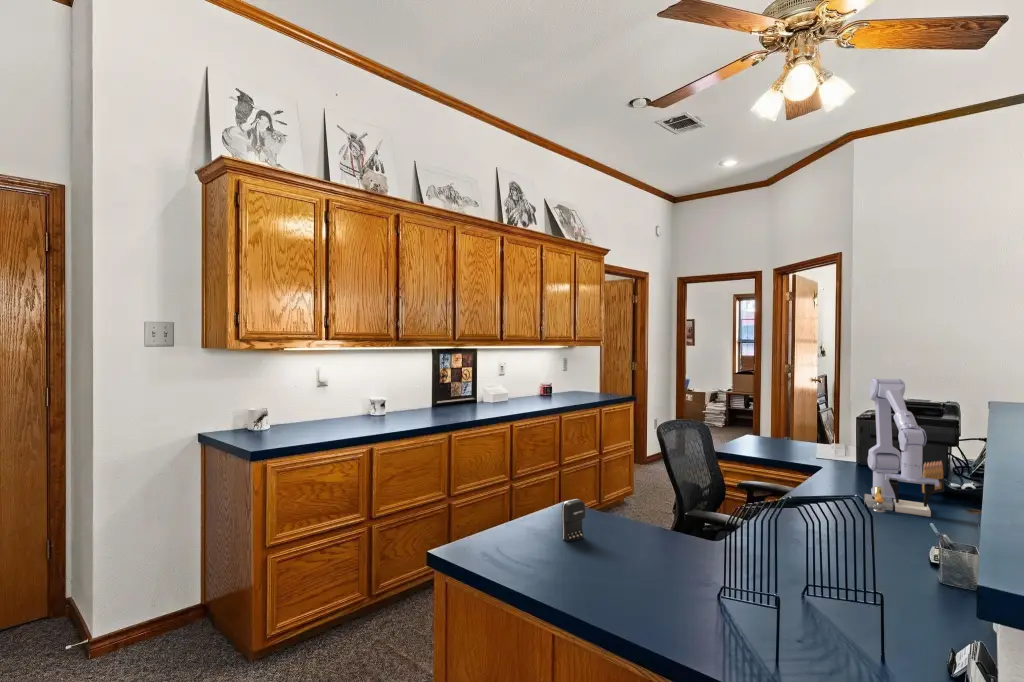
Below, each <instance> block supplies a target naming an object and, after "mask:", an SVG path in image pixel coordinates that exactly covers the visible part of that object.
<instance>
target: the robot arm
mask: <svg viewBox="0 0 1024 682" xmlns="http://www.w3.org/2000/svg"><path fill="white" fill-rule="evenodd" d="M868 387H869V398H870V400H871V401H873V402H874V406H875V407H874V408H875V409H874V410H875V429H876V430H875V431H876V432H875V433H876V434H875V435H876V444H875V445H874V446H872V447H871V448H869V449H868V456H867V465H868V468H869V469H870V470H871V471H872V487H871V489H870V491H871V495H874V487H875V486H878V487H882V488H883V496H885V497H891V498H892V499H896V503H899V500H900V499H899V486H900V485H899V482H901V483H909V484H916V485H917V484H918V485H919V484H920V485H921V484H924V494H923V503H924V507H927V504H928V505H929V500H930V498H931V495H932V494H934V493H933V491H934V490H935V486H938V487H939V480H938V479H931V478H925V477H923V448H924V447H925V446H926V443H927V434H926V431H925V430H924V428H922V427H921V426H919V425H918V423H917V421H916V419H915V416H914V414H913V413H912V411H909V410H908V409H907V405H906V402H905V399H904V395H905V391H906V383H905V381H904V380H903V379H902V378H872V379H871V380H870V382H869V385H868ZM891 408H892V409H891ZM892 410H893V411H894V415H893V420H894V423H895V425H896V427H897V430H898V435H897V437H898V443H899V449H900V450H901V452H900V450H899V449H898V448H896V447H894V446H893V433H892V431H893V429H892V428H893V427H892V426H893V425H892ZM899 472H901V473H900V474H899Z"/></svg>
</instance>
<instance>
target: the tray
mask: <svg viewBox="0 0 1024 682" xmlns="http://www.w3.org/2000/svg"><path fill="white" fill-rule="evenodd" d="M892 502H893V509H894V512H896V513H901V514H902V513H903V514H908V515H916V516H922V517H923V516H924V517H931V516H932V515H931V514H932V511H931V509H930V507H929V503H928V504H927V507H924V502H919V501H911V500H903V499H899V503H896V499H895V498H893V500H892Z"/></svg>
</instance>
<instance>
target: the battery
mask: <svg viewBox="0 0 1024 682" xmlns="http://www.w3.org/2000/svg"><path fill="white" fill-rule="evenodd" d="M586 517H587V516H586V503H585V502H584V501H583V500H580V499H578V498H573V499H569V500H565V501H563V502H562V506H561V538H562V540H564V541H566V542H574V541H577V540H581V539H584V530H583V519H586Z"/></svg>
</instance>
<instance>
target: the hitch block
mask: <svg viewBox="0 0 1024 682" xmlns="http://www.w3.org/2000/svg"><path fill="white" fill-rule="evenodd" d="M882 498H884V502H876V501H875V499H874V495H872V494H869V493H864V503H865V502H866V504H867V506H868V507H867V508H871V509H872V511H873V512H875V513H879V514H880V513H881V514H883V513H886V510H887V511H892V512H893V511H894V504H893V498H891V497H885V496H882Z"/></svg>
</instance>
